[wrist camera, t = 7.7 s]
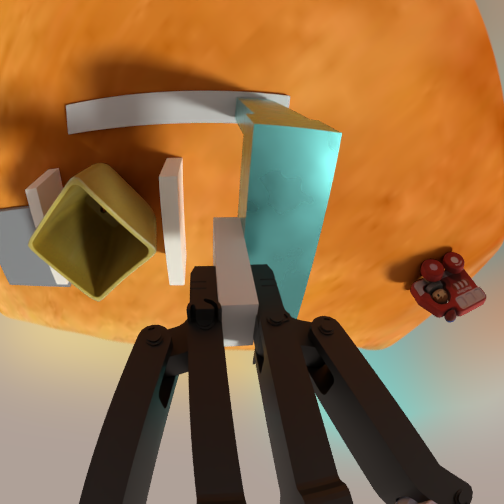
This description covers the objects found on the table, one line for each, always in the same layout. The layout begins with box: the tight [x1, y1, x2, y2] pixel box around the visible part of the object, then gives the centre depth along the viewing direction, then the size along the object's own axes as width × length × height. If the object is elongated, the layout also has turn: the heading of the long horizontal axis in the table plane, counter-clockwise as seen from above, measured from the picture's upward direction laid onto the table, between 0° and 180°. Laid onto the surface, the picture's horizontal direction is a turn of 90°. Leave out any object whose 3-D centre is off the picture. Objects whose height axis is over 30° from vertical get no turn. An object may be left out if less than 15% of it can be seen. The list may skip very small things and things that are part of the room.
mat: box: [0, 206, 71, 287], centre depth 27 cm, size 12×12×1 cm
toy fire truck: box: [410, 252, 486, 322], centre depth 37 cm, size 7×12×10 cm, turn 101°
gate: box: [235, 97, 342, 319], centre depth 20 cm, size 14×4×14 cm, turn 175°
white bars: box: [25, 91, 290, 285], centre depth 24 cm, size 18×24×5 cm
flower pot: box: [28, 163, 156, 301], centre depth 23 cm, size 9×9×9 cm
